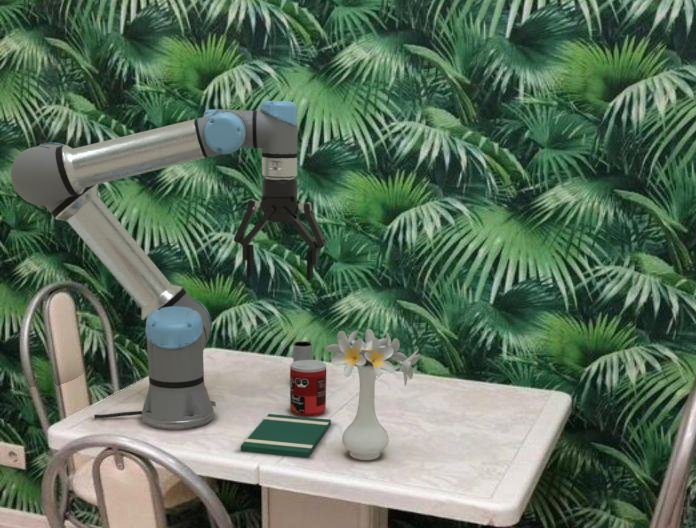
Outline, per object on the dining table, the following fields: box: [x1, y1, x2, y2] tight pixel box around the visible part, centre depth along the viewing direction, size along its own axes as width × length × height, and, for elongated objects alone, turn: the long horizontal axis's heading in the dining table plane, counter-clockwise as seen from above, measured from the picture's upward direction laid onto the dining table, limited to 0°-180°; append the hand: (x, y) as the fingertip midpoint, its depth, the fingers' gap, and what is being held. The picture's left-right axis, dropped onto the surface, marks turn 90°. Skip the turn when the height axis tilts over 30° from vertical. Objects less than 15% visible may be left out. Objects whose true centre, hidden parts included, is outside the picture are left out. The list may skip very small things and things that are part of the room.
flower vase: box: [324, 328, 421, 461], centre depth 187 cm, size 13×18×25 cm
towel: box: [240, 413, 332, 459], centre depth 199 cm, size 14×20×1 cm
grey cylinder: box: [292, 341, 313, 363], centre depth 231 cm, size 4×4×10 cm
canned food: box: [289, 359, 327, 418], centre depth 213 cm, size 8×8×11 cm
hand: (279, 277), depth 211 cm, fingers open, 13 cm apart
